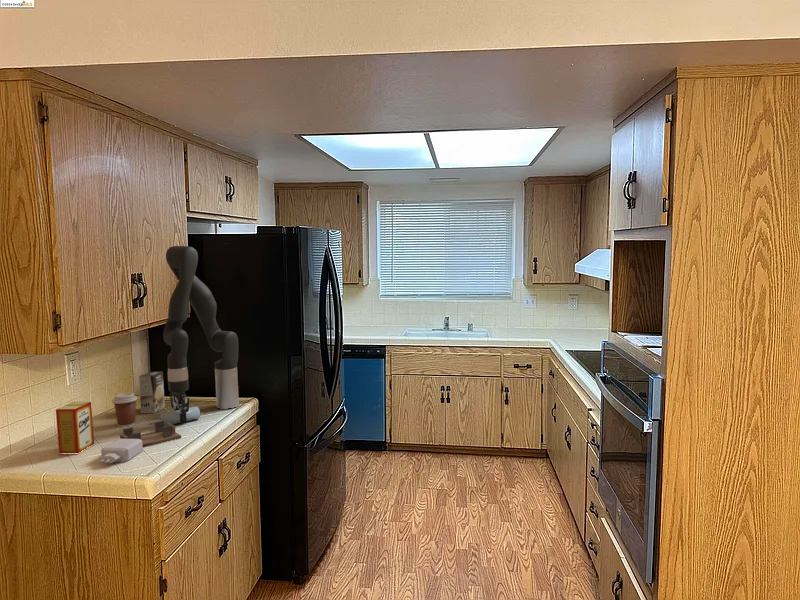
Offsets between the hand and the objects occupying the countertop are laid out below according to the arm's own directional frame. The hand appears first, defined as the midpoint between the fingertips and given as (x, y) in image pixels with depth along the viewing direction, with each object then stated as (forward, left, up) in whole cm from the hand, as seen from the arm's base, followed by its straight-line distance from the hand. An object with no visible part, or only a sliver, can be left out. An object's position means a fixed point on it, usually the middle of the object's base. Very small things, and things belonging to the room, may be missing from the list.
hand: (180, 420), depth 228 cm
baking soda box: (+4, -38, -1) cm, 38 cm away
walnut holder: (+13, -17, -1) cm, 21 cm away
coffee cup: (-14, -16, -1) cm, 21 cm away
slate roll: (0, 0, -1) cm, 1 cm away
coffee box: (-27, -1, -1) cm, 27 cm away
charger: (+25, -31, -1) cm, 40 cm away
